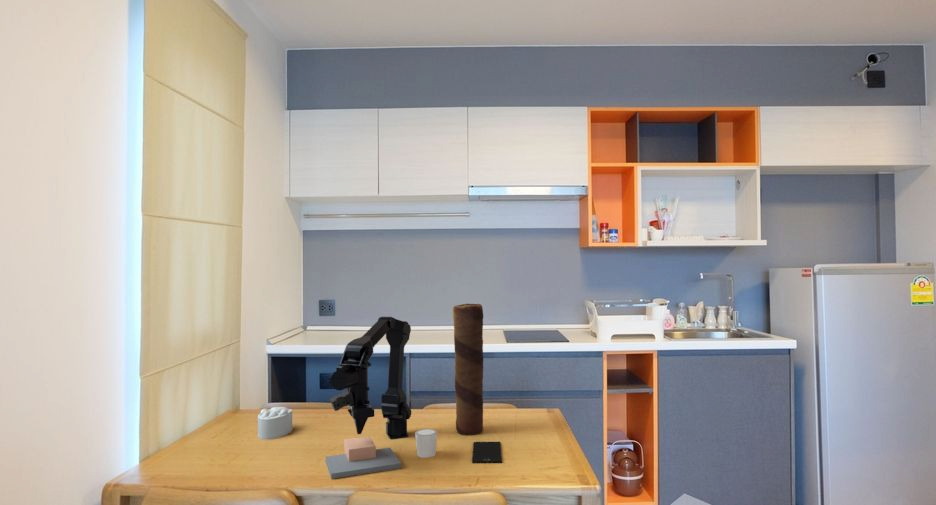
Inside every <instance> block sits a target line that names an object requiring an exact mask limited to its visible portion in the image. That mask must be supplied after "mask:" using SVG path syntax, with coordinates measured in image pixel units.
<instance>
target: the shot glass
mask: <svg viewBox="0 0 936 505" xmlns="http://www.w3.org/2000/svg"><path fill="white" fill-rule="evenodd" d="M414 436H415V444H416V454H417V456H418V458H423V459H427V458H432V457H435V456H436V453H437V439H438V438H437V436H438V431H437V430H435V429H430V428H429V429H428V428H425V429H423V428H422V429H419V430H417V431H415V434H414Z"/></svg>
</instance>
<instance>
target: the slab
mask: <svg viewBox="0 0 936 505" xmlns="http://www.w3.org/2000/svg"><path fill="white" fill-rule="evenodd" d="M343 444H344V446H343V447H344V448H343V451H344V454H346V456H347V458H348V460H349V461H356V460H363V459H370V458H376V449H377V446H376V444H375V442H374V441H373V439H372V438H371V436H370V435H369V436H368V435H367V436H361V437H354V438H345V439H343Z"/></svg>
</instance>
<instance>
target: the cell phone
mask: <svg viewBox="0 0 936 505" xmlns="http://www.w3.org/2000/svg"><path fill="white" fill-rule="evenodd" d="M472 443H473V446H472V459H471V462H472V464H502V463H503V461H502V460H503V458H502V457H503V456H502V447H501V446H502V445H501V441H473V442H472Z"/></svg>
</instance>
